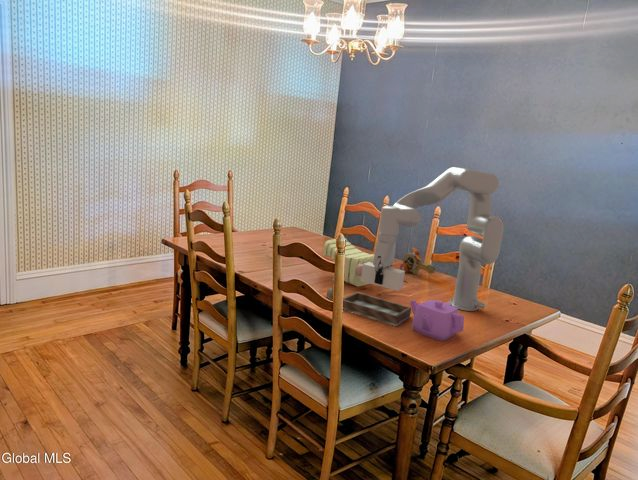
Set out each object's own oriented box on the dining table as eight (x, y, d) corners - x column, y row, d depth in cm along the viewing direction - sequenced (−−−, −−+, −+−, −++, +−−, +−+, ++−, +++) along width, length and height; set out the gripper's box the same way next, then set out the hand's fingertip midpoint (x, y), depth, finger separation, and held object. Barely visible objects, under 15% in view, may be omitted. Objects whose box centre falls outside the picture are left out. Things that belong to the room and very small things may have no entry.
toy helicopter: (407, 269, 266) (410, 245, 263) (437, 280, 250) (441, 254, 247) (397, 270, 261) (400, 246, 258) (427, 282, 245) (431, 256, 242)
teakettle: (463, 343, 174) (469, 311, 171) (418, 340, 172) (423, 308, 170) (448, 324, 190) (452, 295, 188) (406, 322, 189) (410, 292, 186)
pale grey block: (402, 287, 189) (405, 270, 188) (397, 290, 185) (400, 273, 184) (360, 276, 199) (362, 260, 197) (354, 279, 195) (356, 262, 193)
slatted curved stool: (320, 275, 238) (324, 240, 235) (341, 270, 250) (344, 237, 246) (368, 292, 219) (373, 255, 215) (388, 286, 231) (393, 251, 227)
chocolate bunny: (329, 301, 203) (332, 279, 201) (324, 295, 210) (326, 273, 208) (342, 301, 205) (344, 279, 202) (336, 295, 212) (339, 273, 210)
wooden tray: (409, 316, 194) (411, 307, 193) (395, 326, 183) (396, 316, 182) (356, 300, 207) (357, 291, 206) (339, 308, 196) (340, 299, 195)
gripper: (388, 233, 196) (382, 275, 200) (368, 238, 182) (363, 284, 186) (405, 237, 192) (399, 280, 196) (386, 242, 178) (380, 289, 182)
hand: (381, 281), depth 191 cm, fingers closed on pale grey block, 5 cm apart
